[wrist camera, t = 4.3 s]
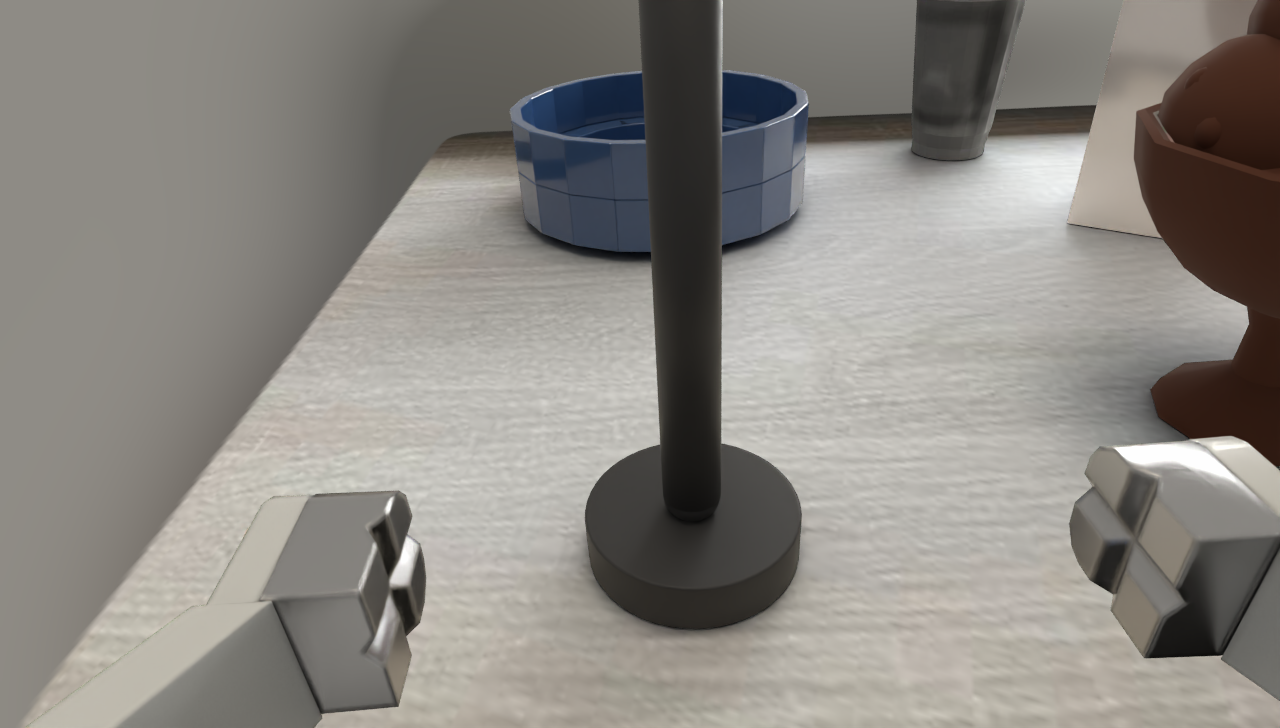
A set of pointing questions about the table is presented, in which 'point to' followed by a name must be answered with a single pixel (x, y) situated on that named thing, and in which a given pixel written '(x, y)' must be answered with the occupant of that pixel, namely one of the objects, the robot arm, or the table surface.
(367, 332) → the table surface
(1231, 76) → the ice cream bowl
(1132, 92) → the soap dispenser
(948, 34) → the beverage cup
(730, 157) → the mixing bowl
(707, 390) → the peg stand
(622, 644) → the table surface
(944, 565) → the table surface
